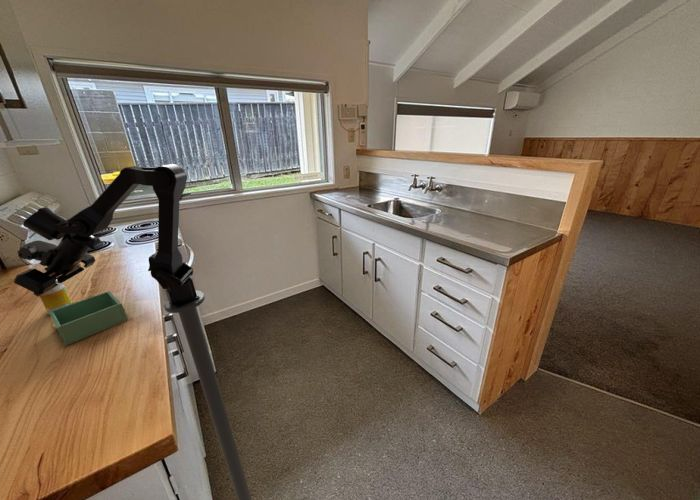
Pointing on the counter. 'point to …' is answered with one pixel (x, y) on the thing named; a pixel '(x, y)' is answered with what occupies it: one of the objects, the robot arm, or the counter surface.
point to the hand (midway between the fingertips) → (45, 290)
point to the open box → (88, 317)
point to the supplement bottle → (55, 298)
